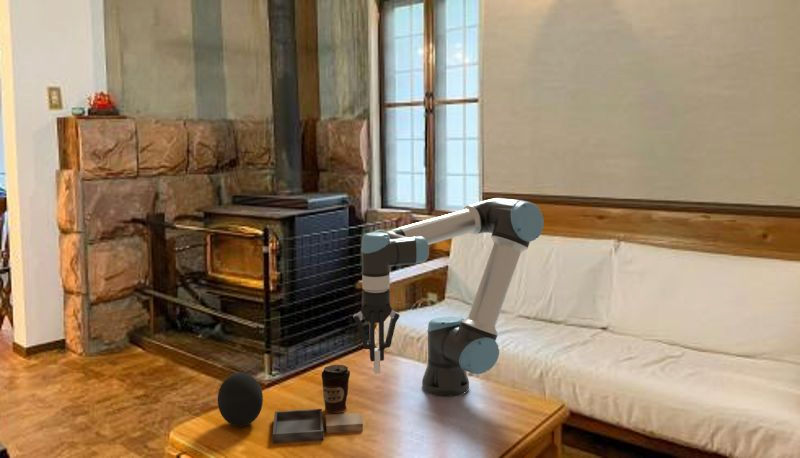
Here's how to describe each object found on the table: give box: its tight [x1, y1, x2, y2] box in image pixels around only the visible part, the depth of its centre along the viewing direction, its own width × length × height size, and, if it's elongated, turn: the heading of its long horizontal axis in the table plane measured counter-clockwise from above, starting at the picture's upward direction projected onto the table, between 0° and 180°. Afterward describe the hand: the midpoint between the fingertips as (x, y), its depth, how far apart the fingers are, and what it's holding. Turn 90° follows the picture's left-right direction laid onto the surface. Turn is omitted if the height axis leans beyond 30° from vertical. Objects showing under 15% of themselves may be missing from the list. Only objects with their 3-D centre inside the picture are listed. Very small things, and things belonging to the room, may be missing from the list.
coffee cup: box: [321, 364, 351, 414], centre depth 193 cm, size 9×8×13 cm
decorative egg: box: [217, 372, 264, 427], centre depth 183 cm, size 12×12×15 cm
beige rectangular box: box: [325, 412, 364, 434], centre depth 183 cm, size 10×7×2 cm
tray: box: [272, 408, 325, 444], centre depth 181 cm, size 13×14×2 cm
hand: (377, 371), depth 182 cm, fingers closed
